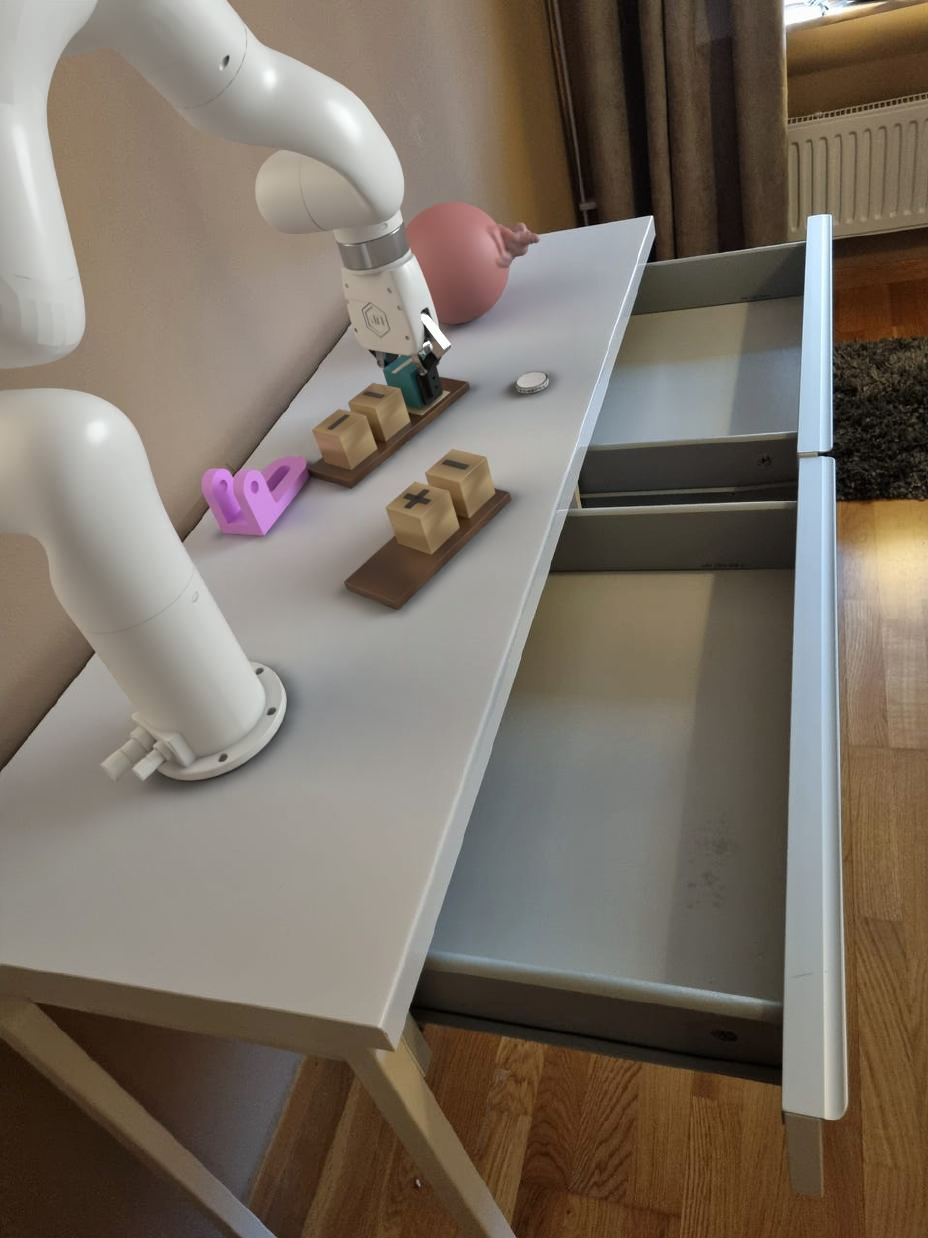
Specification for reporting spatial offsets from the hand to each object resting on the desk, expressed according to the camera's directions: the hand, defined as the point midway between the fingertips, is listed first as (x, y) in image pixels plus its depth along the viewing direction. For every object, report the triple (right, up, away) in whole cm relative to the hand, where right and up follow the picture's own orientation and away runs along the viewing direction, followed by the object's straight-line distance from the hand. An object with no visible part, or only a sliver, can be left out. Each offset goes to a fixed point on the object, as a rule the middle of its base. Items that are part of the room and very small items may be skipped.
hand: (417, 394), depth 108 cm
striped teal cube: (0, 0, 0) cm, 0 cm away
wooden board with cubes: (+2, -20, -20) cm, 28 cm away
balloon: (+8, +15, +17) cm, 24 cm away
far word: (-3, -5, -1) cm, 6 cm away
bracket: (-16, -14, -6) cm, 22 cm away
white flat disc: (+14, +1, -1) cm, 14 cm away
